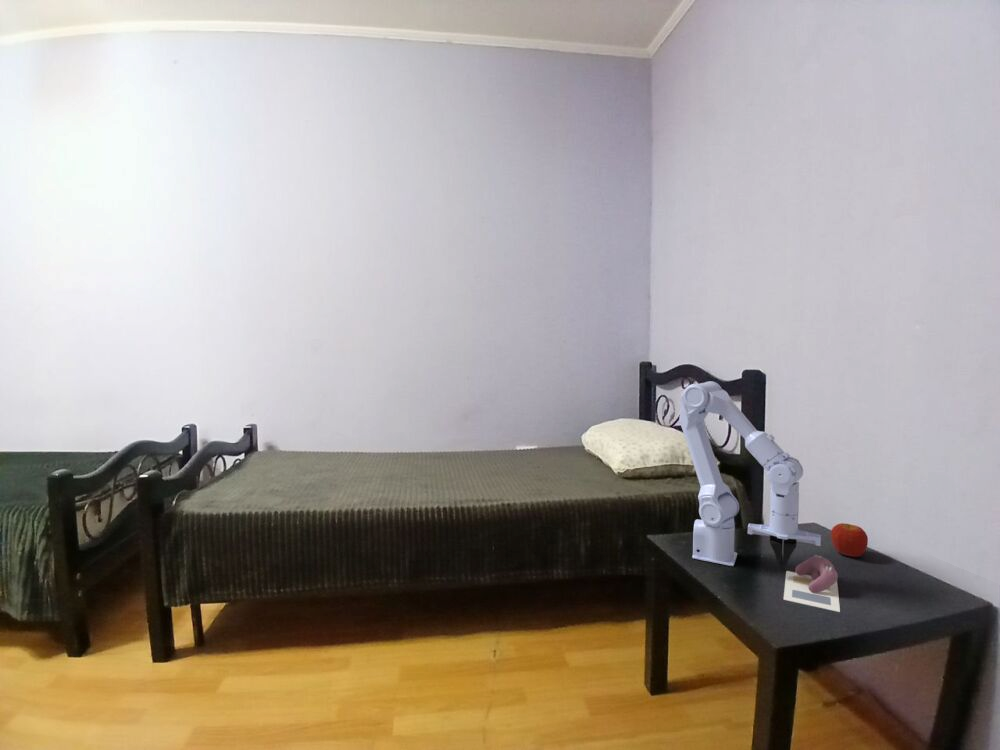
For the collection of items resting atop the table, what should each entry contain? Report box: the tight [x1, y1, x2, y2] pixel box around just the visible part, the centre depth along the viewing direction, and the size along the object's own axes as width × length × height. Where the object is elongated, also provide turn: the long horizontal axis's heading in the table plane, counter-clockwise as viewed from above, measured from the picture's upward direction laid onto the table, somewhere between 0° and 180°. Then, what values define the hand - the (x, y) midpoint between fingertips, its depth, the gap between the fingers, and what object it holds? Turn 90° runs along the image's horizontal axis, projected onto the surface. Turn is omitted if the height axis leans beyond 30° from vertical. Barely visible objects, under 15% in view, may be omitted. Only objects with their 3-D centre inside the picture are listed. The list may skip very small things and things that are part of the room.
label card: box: [783, 570, 841, 613], centre depth 113 cm, size 10×15×1 cm, turn 149°
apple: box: [830, 522, 869, 558], centre depth 131 cm, size 8×8×8 cm
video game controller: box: [794, 554, 839, 592], centre depth 115 cm, size 10×5×7 cm, turn 168°
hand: (782, 569), depth 119 cm, fingers closed
